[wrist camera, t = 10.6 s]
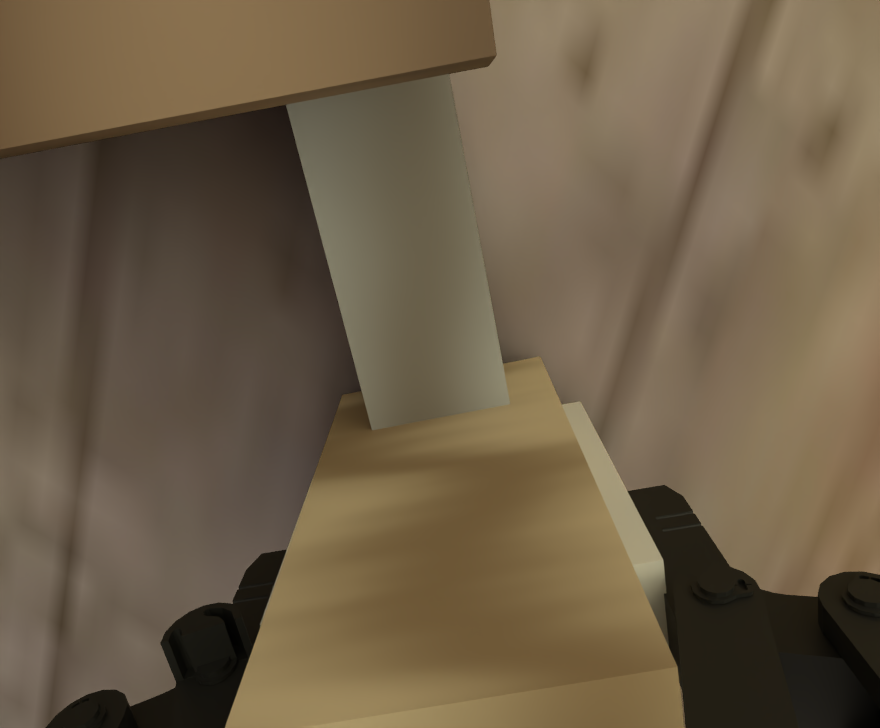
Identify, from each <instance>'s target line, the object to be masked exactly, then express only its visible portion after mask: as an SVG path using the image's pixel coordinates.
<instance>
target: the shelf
mask: <svg viewBox="0 0 880 728" xmlns="http://www.w3.org/2000/svg"><path fill="white" fill-rule="evenodd" d="M495 57H496V47H495V40H494V32H493V25H492V17H491V10H490V2H489V0H0V159H1V158H7V157H12V156H17V155H23V154H28V153H33V152H38V151H44V150H49V149H54V148H60V147H65V146H70V145H75V144H81V143H86V142H91V141H97V140H102V139H107V138H112V137H118V136H123V135H128V134H134V133H139V132H144V131H149V130H155V129H160V128H165V127H171V126H176V125H181V124H186V123H192V122H197V121H202V120H208V119H213V118H218V117H223V116H229V115H234V114H239V113H245V112H250V111H255V110H260V109H266V108H271V107H276V106H282V105H287V104H292V103H297V102H303V101H308V100H313V99H319V98H324V97H329V96H334V95H340V94H345V93H350V92H356V91H361V90H366V89H372V88H377V87H382V86H387V85H393V84H398V83H403V82H409V81H414V80H419V79H424V78H430V77H435V76H440V75H446V74H451V73H456V72H461V71H467V70H472V69H477V68H483V67H488V66H489V65H490V64H491V62H492V61H493V59H494V58H495Z"/></svg>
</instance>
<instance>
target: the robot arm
mask: <svg viewBox="0 0 880 728" xmlns="http://www.w3.org/2000/svg"><path fill="white" fill-rule="evenodd" d="M562 407H563V409H564V411H565V414H566V416H567V418H568V420H569V423H570V425H571V427H572V430H573V432H574V434H575V436H576V439H577V441H578V443H579V445H580V448H581V450H582V452H583V454H584V457H585V459H586V461H587V463H588V466H589V468H590V470H591V472H592V475H593V477H594V479H595V482H596V484H597V486H598V488H599V491H600V493H601V495H602V497H603V500H604V502H605V504H606V506H607V509H608V511H609V513H610V515H611V518H612V520H613V522H614V524H615V527H616V529H617V531H618V534H619V536H620V538H621V540H622V543H623V545H624V547H625V549H626V552H627V554H628V556H629V558H630V561H631V563H632V565H633V567H634V570H635V572H636V574H637V576H638V579H639V581H640V583H641V586H642V588H643V590H644V592H645V595H646V597H647V599H648V601H649V604H650V606H651V608H652V610H653V613H654V615H655V617H656V619H657V622H658V624H659V626H660V628H661V631H662V633H663V635H664V638H665V640H666V642H667V644H668V647H669V649H670V651H671V653H672V656H673V658H674V660H675V662H676V665H677V667H678V676H679V683H680V686H681V688H682V691H683V702H684V713H685V724H686V728H880V575H878V574H872V573H867V572H842V573H839V574H836V575H832V576H829V577H828V578H827V579H826V580H825V581H823V582H822V583H821V584H820V587H819V592H818V597H810V596H795V595H784V594H777V593H772V592H768V591H765V590H761V589H760V588H759V586H758V585H757V583H756V581H755V580H754V579H753V578H751V577H750V576H748V575H747V574H746V573H744V572H742V571H740V570H737V569H734V568H731V567H730V566H729V564H728V563H727V561H726V560H725V558H724V557H723V555H722V554H721V552H720V551H719V549H718V548H717V546H716V545H715V543H714V542H713V540H712V539H711V537H710V536H709V534H708V533H707V531H706V530H705V528H704V527H703V526H701V523H700V521H699V520H698V518H697V517H696V515H695V514H693V511H692V509H691V508H690V506H689V505H688V503H687V502H686V500H685V499H684V497H683V496H682V495H680V494H678V493H677V492H675V491H673V490H672V489H670V488H668V487H667V486H665V485H662V486H656V487H650V488H644V489H638V490H632V491H627V490H626V488H625V486H624V484H623V482H622V480H621V478H620V476H619V474H618V472H617V471H616V469H615V467H614V465H613V463H612V461H611V459H610V457H609V455H608V453H607V451H606V450H605V448H604V446H603V444H602V442H601V440H600V438H599V436H598V434H597V432H596V430H595V428H594V427H593V425H592V423H591V421H590V419H589V417H588V415H587V413H586V411H585V409H584V407H583V406H582V404H581V402H574V403H568V404H563V405H562ZM318 463H319V462H318ZM314 474H315V473H314ZM313 477H314V476H313ZM312 480H313V479H312ZM310 485H311V484H310ZM309 488H310V487H309ZM308 491H309V490H308ZM307 494H308V493H307ZM306 497H307V495H306ZM305 499H306V498H305ZM304 502H305V501H304ZM303 505H304V504H303ZM302 508H303V507H302ZM301 511H302V509H301ZM300 514H301V512H300ZM299 516H300V515H299ZM298 519H299V518H298ZM297 522H298V520H297ZM296 525H297V523H296ZM295 528H296V526H295ZM294 531H295V529H294ZM294 531H293V533H294ZM292 536H293V534H292ZM291 539H292V537H291ZM290 542H291V540H290ZM290 542H289V545H290ZM289 545H288V547H289ZM287 550H288V548H287ZM287 550H282V551H275V552H269V553H263V554H261V555H260V556H259V557H258V558H257V559H256V560H255V561H254V562H253V563H252V565H251V566H250V567H249V568H248V569H247V570H246V572H245V574H244V576H243V578H242V581H241V583H240V585H239V590H237V592H236V594H235V597H234V599H233V604H230V603H215V604H210V605H205V606H202V607H200V608H198V609H195V610H193V611H191V612H189V613H187V614H186V615H184V616H183V617H181V618H180V619H178V620H177V621H176V622H175V623H174V624H173V625H172V626H171V627H170V628H169V629H168V630H167V631H166V632H165V634H164V636H163V639H162V641H161V646H162V648H163V651H164V653H165V656H166V658H167V661H168V663H169V666H170V668H171V671H172V673H173V675H174V678H175V680H176V687H175V688H174V689H172V690H170V691H168V692H165V693H163V694H161V695H159V696H156V697H153V698H151V699H148V700H146V701H143V702H141V703H138V704H136V705H133V706H131V707H130V705H129V703H128V701H127V698H126V696H125V694H123V693H121V692H119V691H117V690H101V691H98V692H94V693H91V694H88V695H86V696H84V697H82V698H80V699H78V700H76V701H75V702H73V703H71V704H70V705H68V706H67V707H66V708H65V709H63V710H62V711H61V712H60V713H58V714H57V715H56V716H55V717H54V718H53V720H52V721H51V722H50V723H49V724H48V726H47V727H46V728H225V726H226V723H227V720H228V717H229V714H230V712H231V709H232V706H233V703H234V700H235V697H236V695H237V692H238V689H239V686H240V683H241V680H242V678H243V675H244V672H245V669H246V666H247V664H248V661H249V658H250V655H251V652H252V649H253V647H254V644H255V641H256V638H257V635H258V632H259V630H260V627H261V624H262V621H263V618H264V615H265V613H266V610H267V607H268V604H269V601H270V598H271V596H272V593H273V590H274V587H275V584H276V581H277V579H278V576H279V573H280V570H281V567H282V564H283V562H284V559H285V556H286V553H287Z"/></svg>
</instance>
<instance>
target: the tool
mask: <svg viewBox="0 0 880 728" xmlns="http://www.w3.org/2000/svg"><path fill="white" fill-rule="evenodd" d="M286 107H287V111H288V115H289V119H290V122H291V126H292V130H293V134H294V137H295V141H296V145H297V149H298V153H299V156H300V160H301V164H302V168H303V171H304V175H305V179H306V183H307V187H308V190H309V194H310V198H311V202H312V205H313V209H314V213H315V217H316V221H317V224H318V228H319V232H320V236H321V239H322V243H323V247H324V251H325V255H326V258H327V262H328V266H329V270H330V273H331V277H332V281H333V285H334V289H335V292H336V296H337V300H338V304H339V307H340V311H341V315H342V319H343V323H344V326H345V330H346V334H347V338H348V341H349V345H350V349H351V353H352V357H353V360H354V364H355V368H356V372H357V375H358V379H359V383H360V387H361V390H362V391H360V392H355V393H350V394H345V395H342V398H341V400H340V403H339V406H338V409H337V412H336V414H335V417H334V420H333V423H332V426H331V429H330V431H329V434H328V437H327V440H326V443H325V446H324V448H323V451H322V454H321V457H320V460H319V463H318V465H317V468H316V471H315V474H314V477H313V480H312V482H311V485H310V488H309V491H308V494H307V497H306V499H305V502H304V505H303V508H302V511H301V514H300V516H299V519H298V522H297V525H296V528H295V531H294V533H293V536H292V539H291V542H290V545H289V547H288V550H287V553H286V556H285V559H284V562H283V564H282V567H281V570H280V573H279V576H278V579H277V581H276V584H275V587H274V590H273V593H272V596H271V598H270V601H269V604H268V607H267V610H266V613H265V615H264V618H263V621H262V624H261V627H260V630H259V632H258V635H257V638H256V641H255V644H254V647H253V649H252V652H251V655H250V658H249V661H248V664H247V666H246V669H245V672H244V675H243V678H242V680H241V683H240V686H239V689H238V692H237V695H236V697H235V700H234V703H233V706H232V709H231V712H230V714H229V717H228V720H227V723H226V726H225V728H684V721H683V712H682V703H681V694H680V685H679V676H678V667H677V665H676V662H675V660H674V658H673V656H672V653H671V651H670V649H669V647H668V644H667V642H666V640H665V638H664V635H663V633H662V631H661V628H660V626H659V624H658V622H657V619H656V617H655V615H654V613H653V610H652V608H651V606H650V604H649V601H648V599H647V597H646V595H645V592H644V590H643V588H642V586H641V583H640V581H639V579H638V576H637V574H636V572H635V570H634V567H633V565H632V563H631V561H630V558H629V556H628V554H627V552H626V549H625V547H624V545H623V543H622V540H621V538H620V536H619V534H618V531H617V529H616V527H615V524H614V522H613V520H612V518H611V515H610V513H609V511H608V509H607V506H606V504H605V502H604V500H603V497H602V495H601V493H600V491H599V488H598V486H597V484H596V482H595V479H594V477H593V475H592V472H591V470H590V468H589V466H588V463H587V461H586V459H585V457H584V454H583V452H582V450H581V448H580V445H579V443H578V441H577V439H576V436H575V434H574V432H573V430H572V427H571V425H570V423H569V420H568V418H567V416H566V414H565V411H564V409H563V407H562V405H561V402H560V400H559V398H558V396H557V393H556V391H555V389H554V387H553V384H552V382H551V380H550V378H549V375H548V373H547V371H546V369H545V366H544V364H543V362H542V359H541V357H535V358H530V359H525V360H520V361H515V362H509V363H504V364H503V362H502V356H501V351H500V346H499V340H498V335H497V330H496V324H495V319H494V313H493V308H492V303H491V297H490V292H489V286H488V281H487V276H486V270H485V265H484V260H483V254H482V249H481V243H480V238H479V233H478V227H477V222H476V216H475V211H474V206H473V200H472V195H471V190H470V184H469V179H468V173H467V168H466V163H465V157H464V152H463V146H462V141H461V136H460V130H459V125H458V120H457V114H456V109H455V103H454V98H453V93H452V87H451V82H450V77H449V74H446V75H440V76H435V77H430V78H424V79H419V80H414V81H409V82H403V83H398V84H393V85H387V86H382V87H377V88H372V89H366V90H361V91H356V92H350V93H345V94H340V95H334V96H329V97H324V98H319V99H313V100H308V101H303V102H297V103H292V104H287V105H286Z"/></svg>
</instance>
